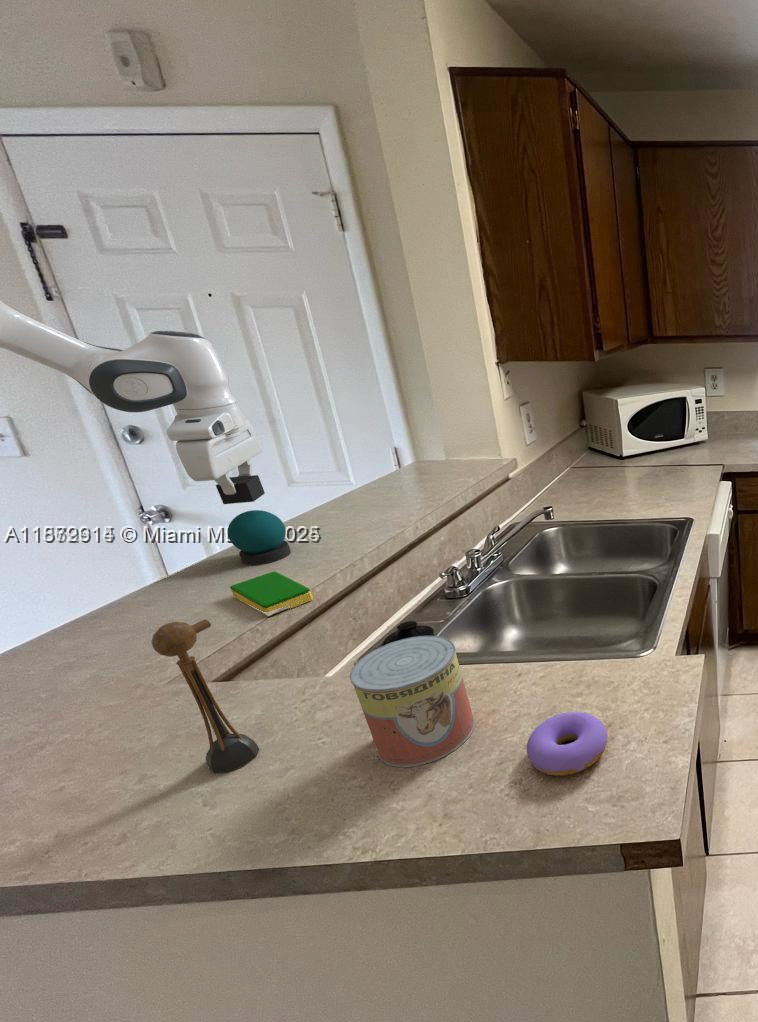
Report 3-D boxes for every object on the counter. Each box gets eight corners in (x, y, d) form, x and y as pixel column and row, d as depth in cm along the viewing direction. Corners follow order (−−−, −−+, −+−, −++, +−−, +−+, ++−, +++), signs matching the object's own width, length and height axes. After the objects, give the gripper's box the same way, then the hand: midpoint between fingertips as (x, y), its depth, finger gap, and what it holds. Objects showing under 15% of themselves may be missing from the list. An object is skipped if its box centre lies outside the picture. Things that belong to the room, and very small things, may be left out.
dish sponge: (268, 617, 107) (263, 605, 106) (233, 597, 113) (228, 585, 112) (314, 600, 112) (310, 588, 111) (278, 581, 119) (274, 570, 118)
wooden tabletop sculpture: (247, 736, 80) (185, 606, 72) (276, 742, 80) (216, 610, 71) (199, 770, 75) (126, 633, 67) (229, 776, 74) (159, 638, 66)
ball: (230, 568, 123) (210, 522, 119) (251, 550, 131) (233, 506, 127) (283, 563, 126) (265, 517, 121) (301, 545, 133) (285, 501, 129)
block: (223, 504, 120) (215, 485, 118) (236, 495, 124) (228, 477, 123) (253, 501, 122) (246, 482, 120) (265, 493, 126) (258, 474, 124)
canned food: (392, 782, 74) (363, 703, 69) (367, 735, 81) (339, 661, 76) (488, 734, 81) (468, 660, 76) (457, 695, 88) (437, 625, 83)
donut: (626, 738, 80) (616, 714, 77) (577, 798, 74) (564, 775, 71) (569, 714, 84) (558, 691, 81) (518, 770, 78) (504, 746, 75)
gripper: (220, 408, 124) (246, 473, 130) (160, 434, 107) (192, 507, 112) (257, 407, 126) (281, 470, 132) (204, 431, 108) (233, 504, 114)
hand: (239, 488), depth 122 cm, fingers closed on block, 5 cm apart
